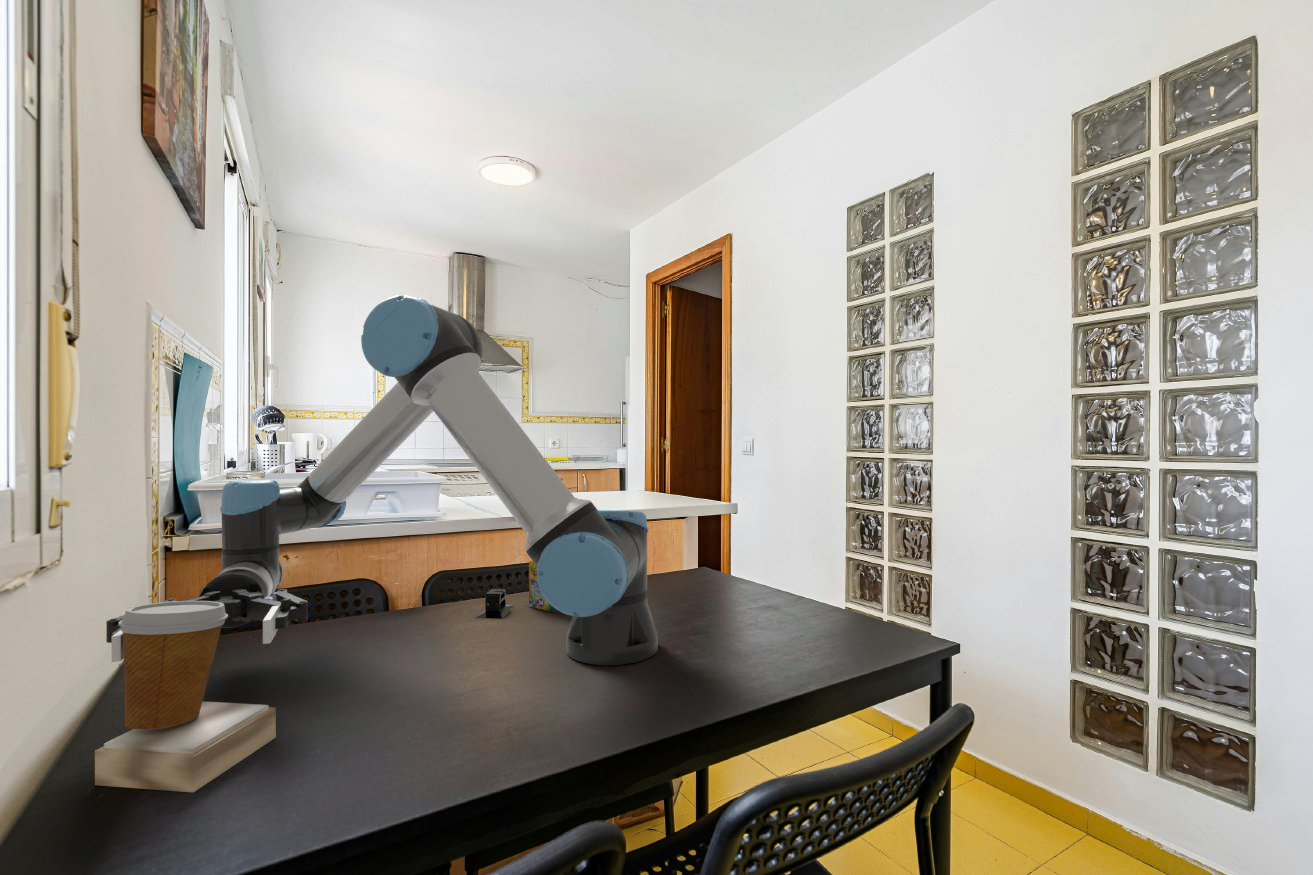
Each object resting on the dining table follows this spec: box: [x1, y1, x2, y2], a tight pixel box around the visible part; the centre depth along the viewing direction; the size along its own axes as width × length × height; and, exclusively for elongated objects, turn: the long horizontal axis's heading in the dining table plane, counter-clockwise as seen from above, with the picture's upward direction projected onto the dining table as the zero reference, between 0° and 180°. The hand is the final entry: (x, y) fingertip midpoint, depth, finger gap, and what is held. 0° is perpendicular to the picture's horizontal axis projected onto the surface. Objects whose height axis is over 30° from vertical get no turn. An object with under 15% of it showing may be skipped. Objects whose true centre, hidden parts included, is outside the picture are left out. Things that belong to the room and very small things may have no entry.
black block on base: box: [474, 588, 515, 620], centre depth 122 cm, size 12×7×5 cm, turn 177°
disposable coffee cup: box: [118, 600, 228, 730], centre depth 67 cm, size 10×10×12 cm
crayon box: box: [528, 559, 559, 613], centre depth 124 cm, size 7×3×12 cm, turn 55°
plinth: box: [94, 700, 277, 793], centre depth 66 cm, size 11×11×4 cm
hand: (194, 640), depth 67 cm, fingers open, 13 cm apart
